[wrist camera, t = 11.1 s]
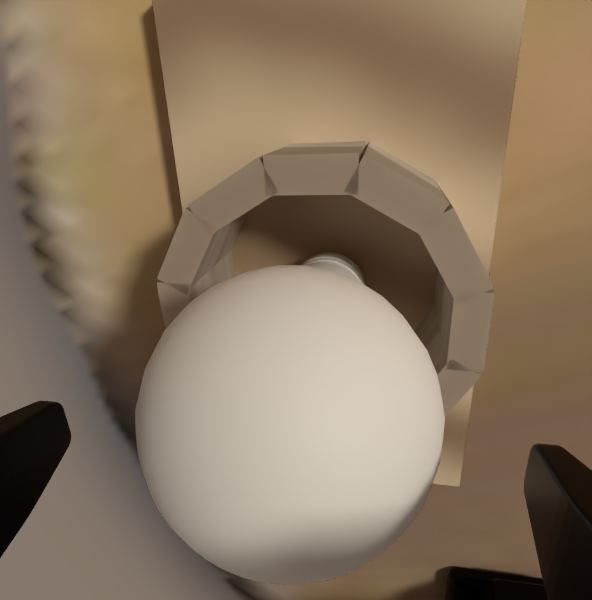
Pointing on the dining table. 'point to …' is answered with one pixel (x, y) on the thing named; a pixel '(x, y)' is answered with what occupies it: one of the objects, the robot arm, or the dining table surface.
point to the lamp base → (347, 157)
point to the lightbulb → (290, 423)
